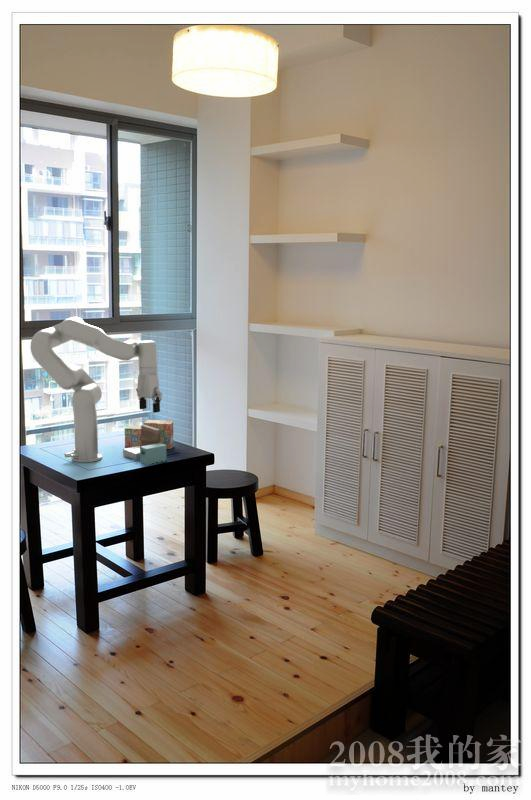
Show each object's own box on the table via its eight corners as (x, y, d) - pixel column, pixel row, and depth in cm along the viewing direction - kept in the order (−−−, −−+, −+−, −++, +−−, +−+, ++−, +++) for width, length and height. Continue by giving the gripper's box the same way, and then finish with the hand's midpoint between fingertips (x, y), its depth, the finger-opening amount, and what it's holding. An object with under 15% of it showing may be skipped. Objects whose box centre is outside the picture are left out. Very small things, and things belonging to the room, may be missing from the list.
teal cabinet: (145, 465, 314) (144, 449, 312) (138, 462, 317) (138, 446, 316) (166, 461, 321) (166, 445, 319) (159, 458, 324) (159, 442, 323)
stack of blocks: (124, 448, 340) (124, 421, 338) (128, 444, 346) (127, 418, 344) (170, 450, 338) (170, 423, 336) (173, 446, 344) (173, 420, 342)
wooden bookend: (137, 460, 320) (136, 433, 317) (122, 455, 328) (121, 428, 326) (160, 456, 327) (160, 429, 325) (145, 450, 336) (144, 424, 334)
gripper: (128, 369, 316) (130, 408, 319) (152, 373, 304) (154, 414, 307) (143, 367, 321) (145, 406, 324) (167, 371, 309) (169, 412, 312)
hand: (149, 410), depth 316 cm, fingers open, 9 cm apart
